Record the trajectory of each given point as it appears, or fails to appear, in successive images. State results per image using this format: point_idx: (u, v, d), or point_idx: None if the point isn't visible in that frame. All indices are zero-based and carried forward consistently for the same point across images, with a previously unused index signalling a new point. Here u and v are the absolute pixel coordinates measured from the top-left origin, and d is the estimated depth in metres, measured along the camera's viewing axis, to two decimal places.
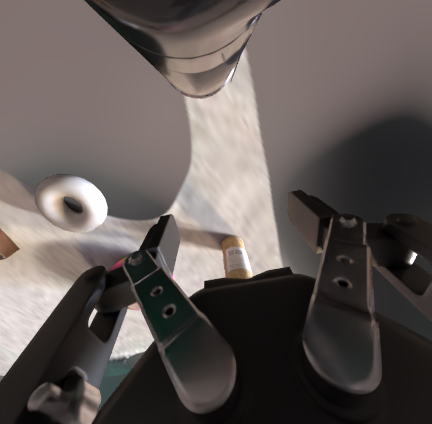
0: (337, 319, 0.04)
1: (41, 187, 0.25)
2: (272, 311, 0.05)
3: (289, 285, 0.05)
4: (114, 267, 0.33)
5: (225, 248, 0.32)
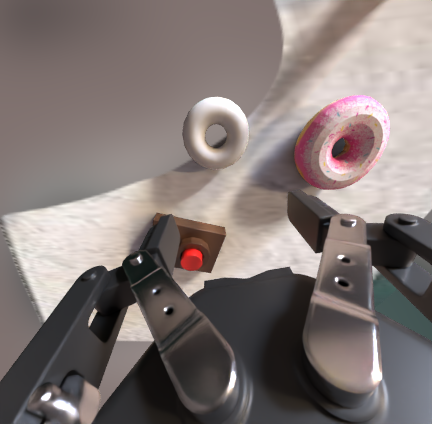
0: (337, 319, 0.04)
1: (187, 139, 0.25)
2: (272, 311, 0.05)
3: (289, 285, 0.05)
4: (299, 153, 0.27)
5: None
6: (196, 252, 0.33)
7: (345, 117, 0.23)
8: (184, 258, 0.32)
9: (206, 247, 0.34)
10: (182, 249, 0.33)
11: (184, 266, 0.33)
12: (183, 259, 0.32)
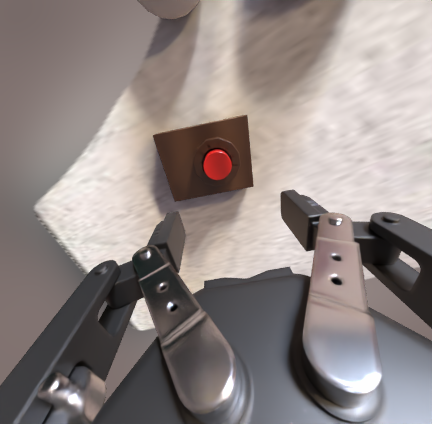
0: (334, 318, 0.04)
1: None
2: (272, 311, 0.05)
3: (289, 285, 0.05)
4: None
5: None
6: (218, 150, 0.25)
7: None
8: (205, 162, 0.24)
9: (229, 141, 0.25)
10: (200, 156, 0.25)
11: (211, 175, 0.25)
12: (205, 164, 0.24)
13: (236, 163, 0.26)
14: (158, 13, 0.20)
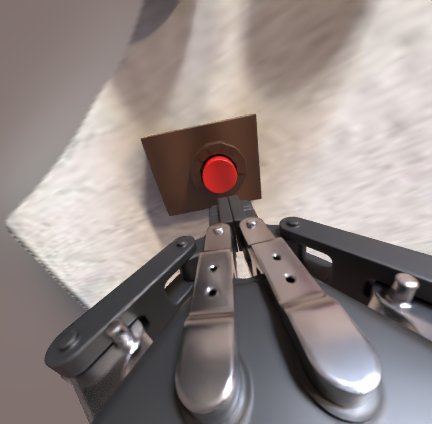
0: (316, 318, 0.04)
1: None
2: (272, 311, 0.05)
3: None
4: None
5: None
6: (220, 157, 0.20)
7: None
8: (205, 172, 0.20)
9: (234, 146, 0.20)
10: (198, 164, 0.21)
11: (212, 187, 0.21)
12: (204, 174, 0.20)
13: (242, 172, 0.22)
14: None
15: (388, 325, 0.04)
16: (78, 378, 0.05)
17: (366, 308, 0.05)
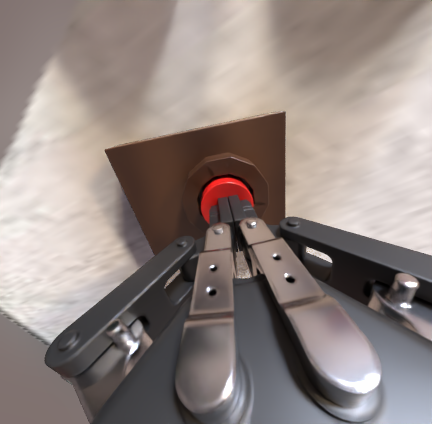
0: (316, 318, 0.04)
1: None
2: (272, 311, 0.05)
3: None
4: None
5: None
6: (229, 177, 0.13)
7: None
8: (205, 200, 0.13)
9: (250, 162, 0.13)
10: (195, 190, 0.13)
11: None
12: (204, 204, 0.13)
13: (262, 201, 0.14)
14: None
15: (388, 325, 0.04)
16: (78, 378, 0.05)
17: (366, 308, 0.05)
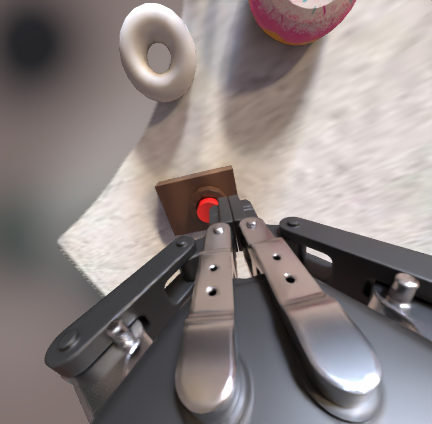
0: (316, 318, 0.04)
1: (132, 76, 0.23)
2: (272, 311, 0.05)
3: None
4: (256, 8, 0.20)
5: None
6: (209, 199, 0.29)
7: None
8: (198, 209, 0.29)
9: (218, 191, 0.30)
10: (194, 203, 0.30)
11: (204, 219, 0.30)
12: (198, 211, 0.29)
13: None
14: (156, 100, 0.25)
15: (388, 325, 0.04)
16: (78, 378, 0.05)
17: (366, 308, 0.05)
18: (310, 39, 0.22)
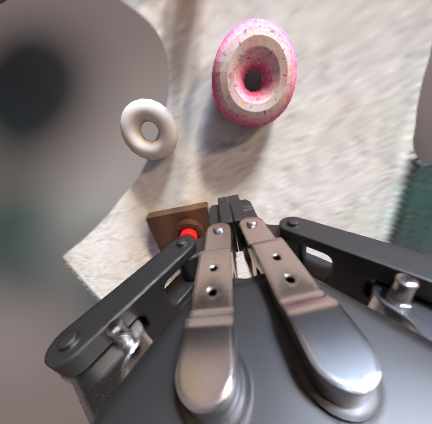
0: (316, 318, 0.04)
1: (129, 145, 0.31)
2: (272, 311, 0.05)
3: None
4: (219, 106, 0.29)
5: None
6: (188, 230, 0.38)
7: (231, 52, 0.24)
8: None
9: (195, 223, 0.38)
10: (177, 232, 0.39)
11: None
12: None
13: (201, 235, 0.39)
14: (148, 159, 0.33)
15: (388, 325, 0.04)
16: (78, 378, 0.05)
17: (366, 308, 0.05)
18: (258, 125, 0.30)
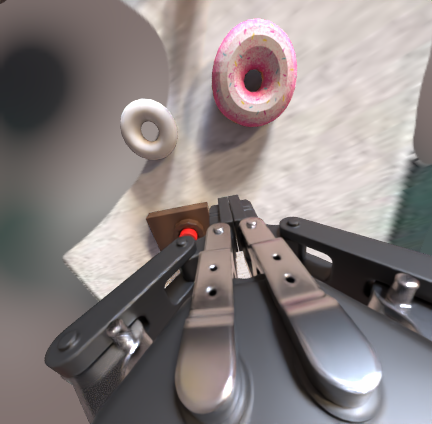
0: (316, 318, 0.04)
1: (129, 145, 0.31)
2: (272, 311, 0.05)
3: None
4: (219, 106, 0.29)
5: None
6: (188, 230, 0.38)
7: (231, 52, 0.24)
8: None
9: (195, 223, 0.38)
10: (177, 232, 0.39)
11: None
12: None
13: (201, 235, 0.39)
14: None
15: (388, 325, 0.04)
16: (78, 378, 0.05)
17: (366, 308, 0.05)
18: (258, 125, 0.30)
